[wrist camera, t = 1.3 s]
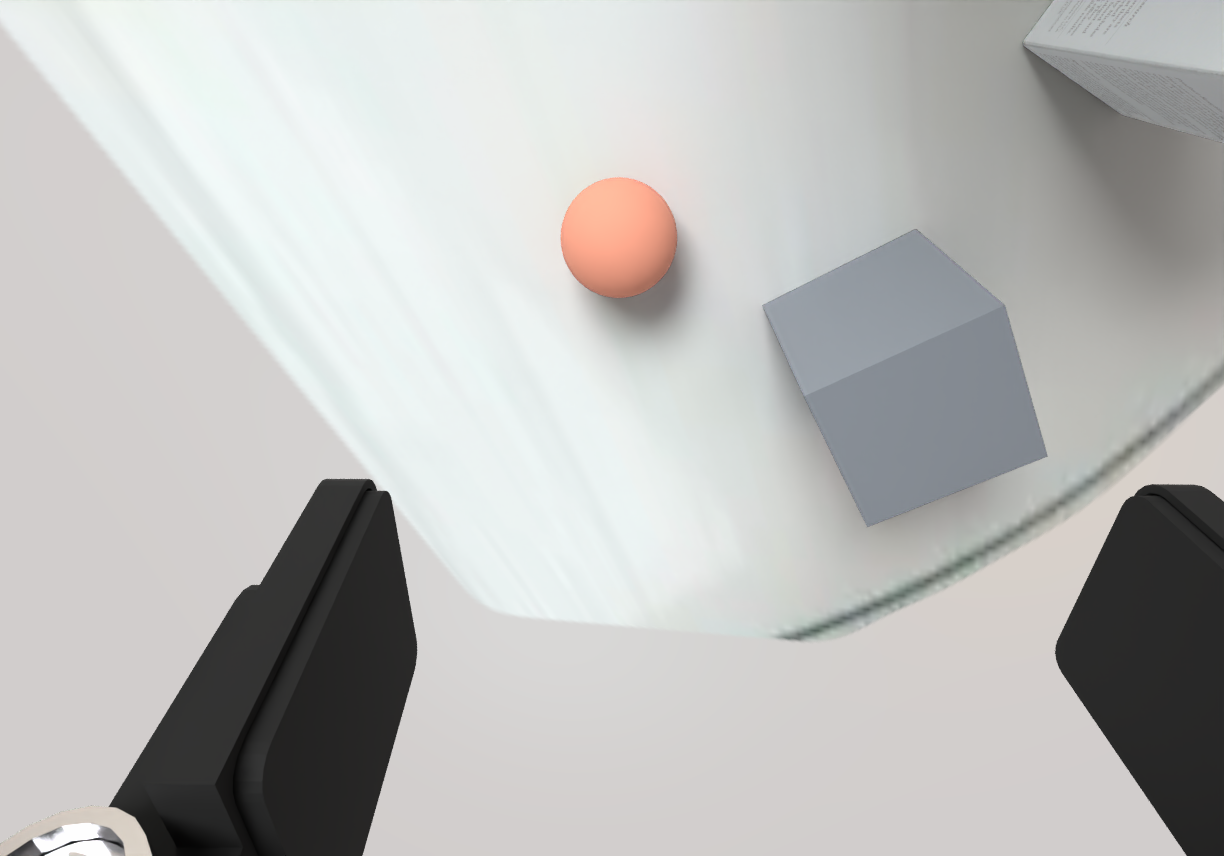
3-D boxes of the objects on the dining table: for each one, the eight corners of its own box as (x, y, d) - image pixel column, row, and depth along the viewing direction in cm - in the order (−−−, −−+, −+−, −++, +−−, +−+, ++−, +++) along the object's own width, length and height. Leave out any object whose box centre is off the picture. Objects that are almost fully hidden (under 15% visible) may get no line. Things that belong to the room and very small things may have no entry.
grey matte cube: (916, 229, 33) (1004, 305, 26) (959, 357, 37) (1047, 456, 29) (762, 305, 35) (803, 396, 28) (817, 419, 39) (867, 526, 31)
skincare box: (1205, 14, 28) (1533, 42, 18) (1119, 116, 30) (1372, 191, 20) (1097, -72, 27) (1390, -92, 17) (1014, 42, 29) (1231, 84, 19)
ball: (640, 143, 31) (645, 171, 27) (690, 241, 33) (702, 281, 29) (542, 200, 32) (533, 236, 28) (598, 291, 35) (597, 336, 30)
